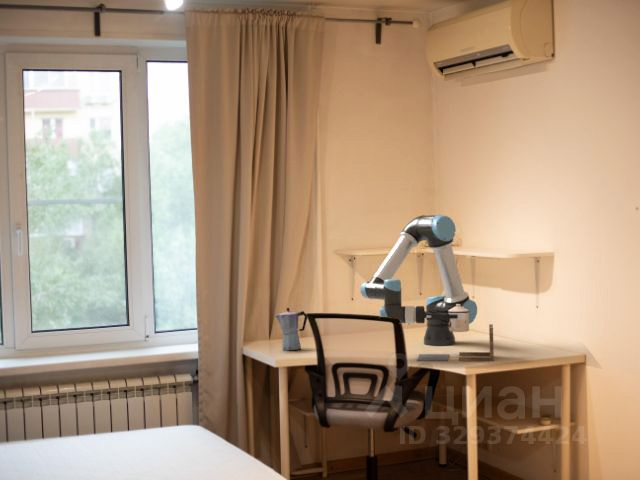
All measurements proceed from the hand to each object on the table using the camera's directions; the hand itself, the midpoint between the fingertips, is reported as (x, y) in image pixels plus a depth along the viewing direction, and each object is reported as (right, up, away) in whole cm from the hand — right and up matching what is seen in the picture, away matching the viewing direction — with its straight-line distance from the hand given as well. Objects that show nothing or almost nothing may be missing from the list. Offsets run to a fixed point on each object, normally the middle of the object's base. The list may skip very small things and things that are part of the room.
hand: (465, 314), depth 372 cm
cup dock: (+5, -19, 0) cm, 20 cm away
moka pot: (-76, -20, +38) cm, 88 cm away
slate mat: (-14, -19, +4) cm, 24 cm away
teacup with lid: (-3, -8, +1) cm, 8 cm away
